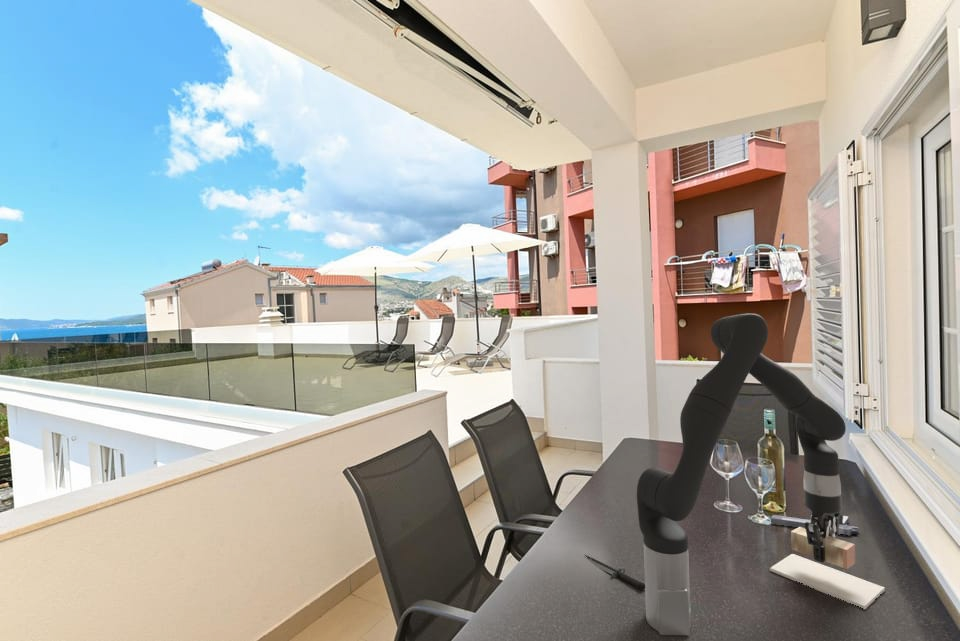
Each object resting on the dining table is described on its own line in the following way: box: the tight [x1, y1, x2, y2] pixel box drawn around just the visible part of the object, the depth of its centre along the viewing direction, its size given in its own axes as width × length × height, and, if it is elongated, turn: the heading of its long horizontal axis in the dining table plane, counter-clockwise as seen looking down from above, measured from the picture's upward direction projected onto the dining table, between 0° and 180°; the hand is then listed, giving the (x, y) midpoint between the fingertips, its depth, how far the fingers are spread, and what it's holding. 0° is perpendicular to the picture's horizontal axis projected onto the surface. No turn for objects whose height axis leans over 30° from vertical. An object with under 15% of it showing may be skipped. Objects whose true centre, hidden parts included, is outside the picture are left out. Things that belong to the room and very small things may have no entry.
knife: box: [584, 554, 645, 591], centre depth 127 cm, size 25×2×5 cm
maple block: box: [790, 527, 856, 570], centre depth 118 cm, size 5×5×12 cm
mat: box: [769, 553, 886, 610], centre depth 117 cm, size 20×12×1 cm, turn 33°
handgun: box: [770, 514, 860, 536], centre depth 148 cm, size 2×22×12 cm
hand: (824, 557), depth 118 cm, fingers closed on maple block, 4 cm apart
